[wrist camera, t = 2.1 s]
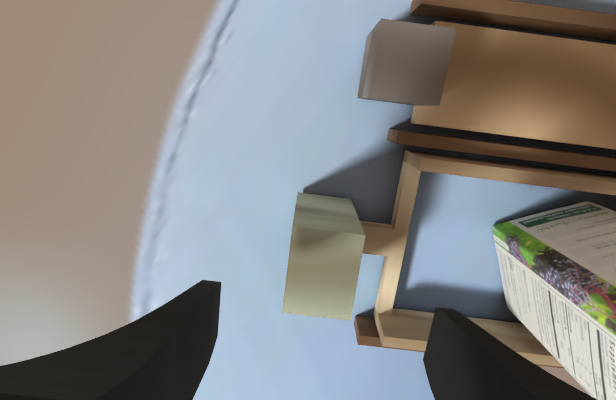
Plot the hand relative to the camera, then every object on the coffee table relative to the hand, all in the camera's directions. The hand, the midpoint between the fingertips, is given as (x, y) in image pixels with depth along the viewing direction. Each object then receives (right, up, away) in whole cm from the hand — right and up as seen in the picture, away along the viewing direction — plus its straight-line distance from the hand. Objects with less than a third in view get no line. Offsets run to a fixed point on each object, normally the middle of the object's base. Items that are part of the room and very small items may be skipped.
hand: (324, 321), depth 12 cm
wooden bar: (+11, +10, +7) cm, 16 cm away
